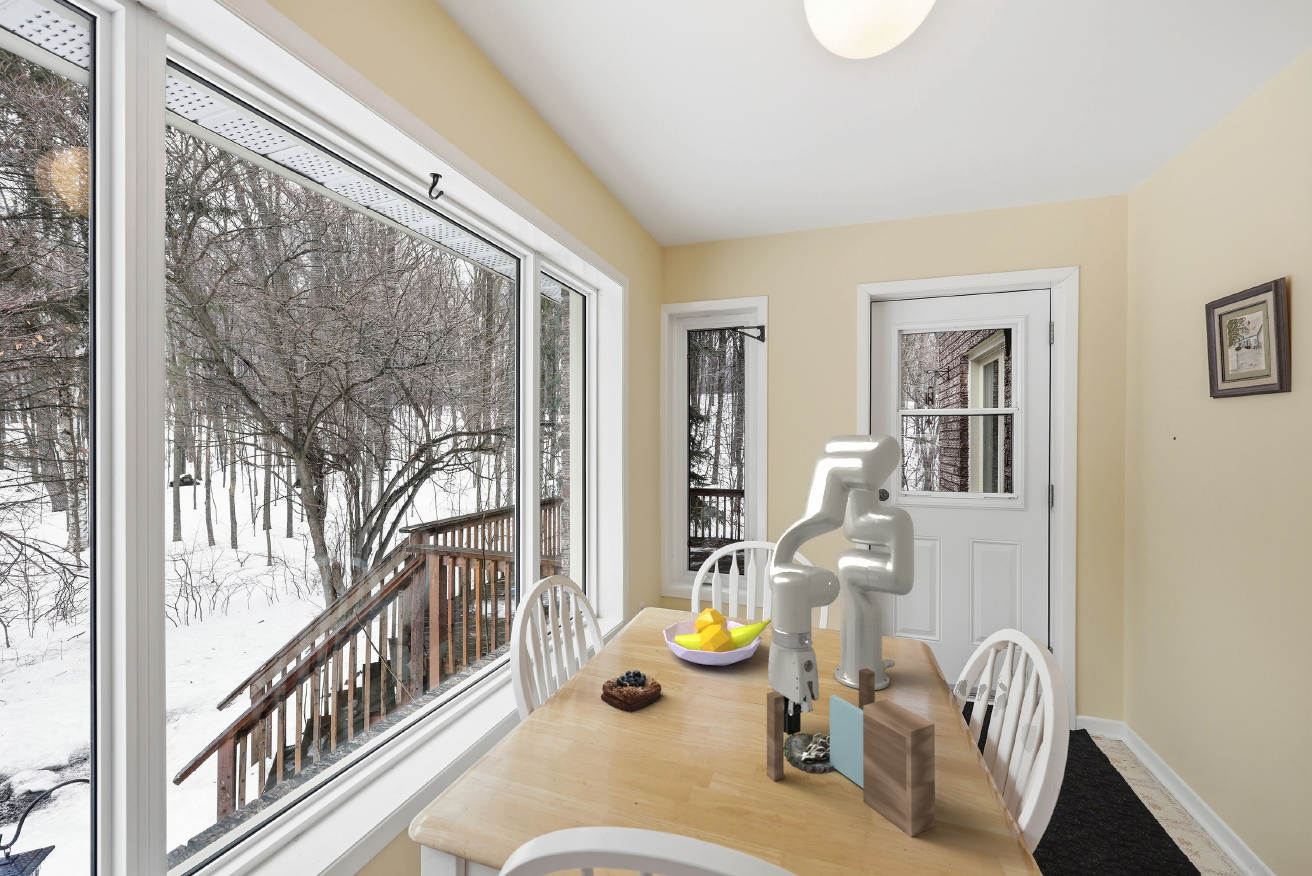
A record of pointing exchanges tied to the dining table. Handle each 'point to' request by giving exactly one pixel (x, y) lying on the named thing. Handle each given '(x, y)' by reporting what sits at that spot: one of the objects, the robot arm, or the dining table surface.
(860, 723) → the door panel
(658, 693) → the pastry
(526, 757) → the dining table surface
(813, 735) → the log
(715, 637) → the fruit bowl
